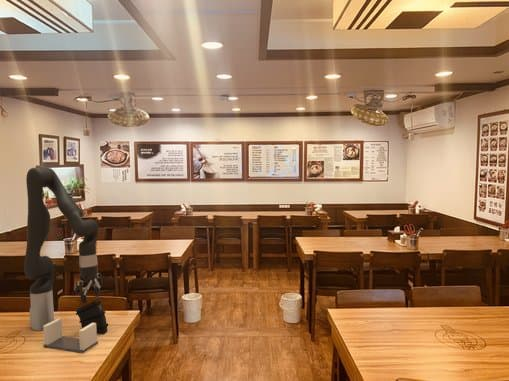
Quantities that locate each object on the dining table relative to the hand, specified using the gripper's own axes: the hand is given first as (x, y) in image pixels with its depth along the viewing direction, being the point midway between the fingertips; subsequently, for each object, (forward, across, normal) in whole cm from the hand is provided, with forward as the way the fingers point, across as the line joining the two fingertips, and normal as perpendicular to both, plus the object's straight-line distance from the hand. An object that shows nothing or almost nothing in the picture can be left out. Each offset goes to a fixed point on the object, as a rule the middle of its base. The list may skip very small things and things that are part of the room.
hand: (90, 299), depth 176 cm
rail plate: (+15, +13, 0) cm, 20 cm away
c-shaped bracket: (+15, +13, 0) cm, 20 cm away
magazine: (+15, 0, 0) cm, 15 cm away
